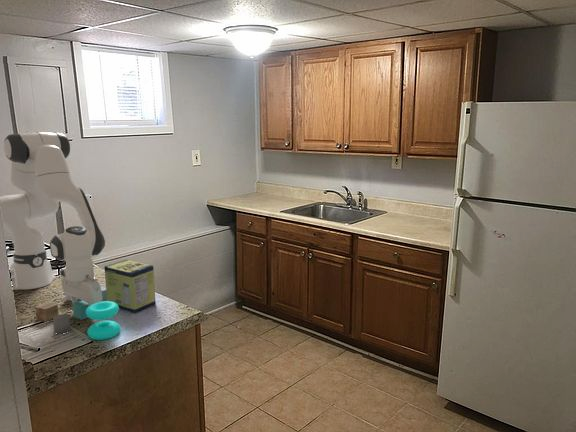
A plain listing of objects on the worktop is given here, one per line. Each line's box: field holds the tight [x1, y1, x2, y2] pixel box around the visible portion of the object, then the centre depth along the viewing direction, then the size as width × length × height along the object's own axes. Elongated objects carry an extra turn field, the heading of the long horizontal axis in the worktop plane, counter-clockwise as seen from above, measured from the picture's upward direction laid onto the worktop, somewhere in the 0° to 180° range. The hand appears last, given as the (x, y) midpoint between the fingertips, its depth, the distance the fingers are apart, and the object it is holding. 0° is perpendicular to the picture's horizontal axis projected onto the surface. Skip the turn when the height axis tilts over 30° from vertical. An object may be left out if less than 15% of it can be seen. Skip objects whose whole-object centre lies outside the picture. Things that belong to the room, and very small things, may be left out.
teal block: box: [72, 300, 89, 321], centre depth 164 cm, size 5×5×5 cm
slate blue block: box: [100, 285, 107, 302], centre depth 177 cm, size 5×5×5 cm
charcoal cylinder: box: [52, 313, 72, 335], centre depth 152 cm, size 5×5×5 cm
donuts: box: [86, 301, 121, 341], centre depth 149 cm, size 10×10×10 cm
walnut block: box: [34, 301, 59, 323], centre depth 162 cm, size 5×5×5 cm
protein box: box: [104, 259, 157, 314], centre depth 173 cm, size 10×16×16 cm
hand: (83, 309), depth 164 cm, fingers open, 8 cm apart
